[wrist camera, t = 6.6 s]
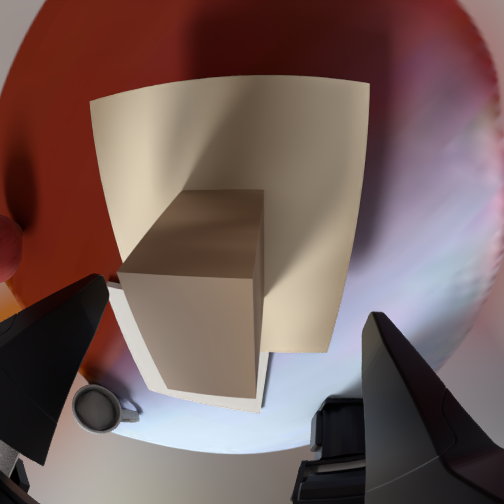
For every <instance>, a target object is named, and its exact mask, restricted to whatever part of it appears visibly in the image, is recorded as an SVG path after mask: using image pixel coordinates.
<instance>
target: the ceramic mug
mask: <svg viewBox="0 0 504 504" xmlns="http://www.w3.org/2000/svg"><path fill="white" fill-rule="evenodd" d="M72 411H73V415H74V418H75V420H76V422H77V423H78V425H79V426H80V427H81V428H82V429H84V430H85V431H87V432H89V433H92V434H104V433H108V432H111V431H112V430H114V429H115V428H116V427H117V426H118V425H119V423H120V422H130V423H132V422H138V421H139V413H138V412H136V411H133V410H127V409H122V408H121V405H120V402H119V400H118V399H117V397H116V396H115V395H114V394H113V393H112V392H111V391H110V390H108V389H107V388H105V387H103V386H100V385H95V384H91V385H86V386H84V387H81V388H80V389H79V390H78V391H77V392H76V393H75V395H74V398H73V401H72Z"/></svg>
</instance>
